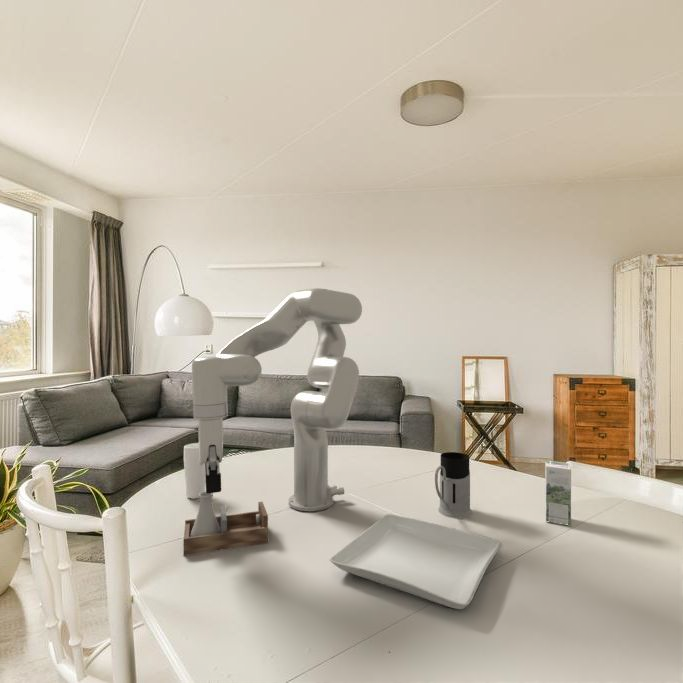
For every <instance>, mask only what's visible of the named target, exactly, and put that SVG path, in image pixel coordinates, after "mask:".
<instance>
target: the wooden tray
mask: <svg viewBox="0 0 683 683" xmlns="http://www.w3.org/2000/svg"><path fill="white" fill-rule="evenodd" d="M257 507H258V510H256V511H250V512H249V511H248V512H240V513H232V514H226V517H227V532H224V533H216V534H209V535H201V536H194V537H190V534H191V531H192V528H193V526H194V523H195V520H196V518H191V519H186V520H184V523H185V524H184V532H183V546H182V547H183V551H182V552H183V556H191V555H196V554H203V553H210V552H216V551H222V550H223V551H225V550H230V549H231V550H232V549H237V548H245V547H250V546H252V547H253V546H259V545H263V544H269V515H268V512H267V509H266V507H265V505H264V502H263V501H259V502H258V506H257ZM215 516H216V519H217V522H218V524H219V527H220V530H221V515H215Z"/></svg>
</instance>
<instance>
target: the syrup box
mask: <svg viewBox="0 0 683 683" xmlns="http://www.w3.org/2000/svg"><path fill="white" fill-rule="evenodd" d="M544 469H545V470H544V471H545V472H544V474H545V476H544V477H545V482H544V483H545V488H544V490H545V491H544V495H545V496H544V497H545V498H544V499H545V501H544V502H545V506H544V507H545V508H544V509H545V510H544V513H545V514H544V516H545V522H546V521H549V522H556V523H562V524H568V525H572V469H571V466H570V462H562V461H553V460H552V461H551V460H545V468H544Z"/></svg>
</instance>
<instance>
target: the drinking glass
mask: <svg viewBox="0 0 683 683" xmlns="http://www.w3.org/2000/svg"><path fill="white" fill-rule="evenodd" d="M183 466H184V477H185V478H184V479H185V492H186V493H185V494H186V495H185V496H186V497H187V498H188V499H190V498H191V499H192V500H193V499H194V500H196V498H197V499H200V498H199V494H200V493H202V492H206V471H205V463H203V465H201V464H200V463H199V442H193V443H188V444H185V445H184V446H183ZM191 499H190V500H191Z"/></svg>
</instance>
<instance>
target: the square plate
mask: <svg viewBox="0 0 683 683" xmlns="http://www.w3.org/2000/svg"><path fill="white" fill-rule="evenodd" d="M502 546H503V544H502V541H500V540H497V539H493V538H489V537H486V536H481V535H478V534H476V533H475V534H474V533H472V532H471V533H470V532H468V531H463V530H460V529H456V528H453V527H448V526H445V525H444V526H443V525H440V524H438V523H432V522H428V521H424V520H419V519H415V518H410V517H404V516H400V515H395V514H391V513H389V514H386V515H384V516H383V517H382V518H380V519H379V520H377V521H376V522H375V523H374V524H372V525H371V526H369V527H368V528H367V529H365V531H363V532H362V533H360V534H359V535H358V536H356V537H355V538H354V539H352V540H351V541H350V542H349V543H347V544H346V545H345V546H344V547H343V548H341V549H340V550H338V551H337V552H336V553H335V554H333V555H332V556H331V557H330V558H329V561H330V563H332V564H333V565H334V566H336V567H337V568H338V569H339V570H341V571H343V572H346V573H348V574H352V575H355V576H358V577H361V578H364V579H366V578H367V579H366V580H369V579H370V580H369V581H371V580H373V581H372V582H374V581H375V582H374V583H377V582H378V583H379V584H380V583H381V585H384V586H387V587H389V586H390V588H392V587H393V589H395V588H396V589H395V590H398V589H399V591H402V592H405V593H407V594H411V595H413V596H416V597H420V598H422V599H426V600H429V601H431V602H434V603H437V604H439V605H443V606H445V607H448V608H452V609H455V610H463V609H465V608H466V607H468V606H469V604H470V603H471V602H472V600H473V598H474V596H475V594H476V592H477V590H478V587H479V585H480V583H481V580H482V579H483V576H484V574H485V572H486V571H487V570H488V567H489V566H490V564H491V562H492V561H493V559H494V558H495V557H496V555H497V553H498V552H499V551H500V549H501V547H502Z"/></svg>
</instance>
